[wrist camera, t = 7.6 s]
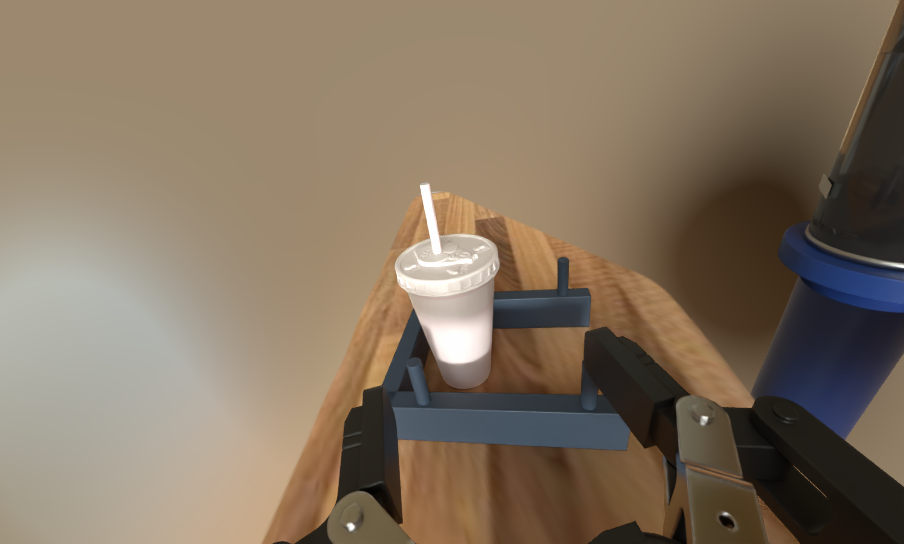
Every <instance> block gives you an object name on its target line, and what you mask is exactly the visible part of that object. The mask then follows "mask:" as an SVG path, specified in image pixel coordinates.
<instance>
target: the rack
mask: <svg viewBox="0 0 904 544" xmlns="http://www.w3.org/2000/svg"><path fill="white" fill-rule="evenodd" d="M568 278H569V259H568V258H566V257H561V258H559V259H558V286H557V289H554V290H530V291H506V292H494V300H493V326H492V329H495V328H545V327H589V321H590V305H591V295H590V292H589V289H588V288H578V289H568ZM429 349H430V346H429V343H428V341H427V338H426V336H425V334H424V331H423V329H422V326H421V324H420V321H419V319H418V317H417V314H416V312H415V309H414V308H413V311H412V313H411V316H410V318H409V320H408V323H407V325H406V328H405V330H404V333H403V335H402V337H401V340H400V342H399V345H398V347H397V350H396V352H395V355H394V357H393V359H392V362H391V364H390V367H389V369H388V372H387V374H386V376H385V379H384V381H383V384H382V385H384V386H385V388H386V391H387V394H388V397H389V399H390V402H391V405H392V408H393V411H394V414H395V419H396V425H397V438H398V439H405V440H425V441H446V442H466V443H486V444H506V445H526V446H546V447H566V448H586V449H606V450H627V445H628V439H629V433H630V429H629V428H628V426H627V425H626V424H625V422H624V421H623V420H622V418H621V417H620V416H619V414H618V413H617V412H616V410H615V409H614V408H613V406H612V405H611V404H610V402H609V401H608V400H607V399H606V397H605V396H604V395H598V387H597V385H596V384H595V383H594V381H593V380H592V379H591V377H590V376H589V375H588V373H587V371H586V369H585V366H584V360H583V361H582V378H581V395H567V394H515V393H463V392H429V390H428V386H427V382H426V378H425V374H424V371H423V369H424V366H425V362H426V359H427V355H428V352H429Z"/></svg>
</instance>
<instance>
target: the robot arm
mask: <svg viewBox="0 0 904 544" xmlns="http://www.w3.org/2000/svg"><path fill="white" fill-rule="evenodd" d="M878 51H879V52H878V54H877V56H876V58H875V61H874V63H873V66H872V68H871V71H870V73H869V76H868V78H867V81H866V83H865V86H864V88H863V91H862V94H861V96H860V99H859V101H858V104H857V106H856V109H855V111H854V114H853V116H852V119H851V121H850V124H849V126H848V129H847V131H846V134H845V136H844V139H843V141H842V144H841V146H840V149H839V151H838V154H837V157H836V159H835V162H834V164H833V166H832V169H831V172H830V174H829V177H828V178H827V177H826V175H825V174H824V175H823V177H822V180H821V182H820V185H819V188H820V190H821V192H822V194H821V197H820V199H819V202H818V204H817V207H816V209H815V212H814V214H813V217H812V219H811V222H810V224H809V225H808V226H807V228H806V230H805V233H804V239H805V240H806V242H807V243H808V244H810V245H811V246H812V247H814V248H815V249H817V250H819V251H821V252H823V253H825V254H828V255H830V256H833V257H836V258H838V259H841V260H845V261H848V262H852V263H855V264H859V265H864V266H868V267H873V268H878V269H884V270H890V271H897V272H904V0H898V2H897V5H896V7H895V10H894V12H893V15H892V17H891V20H890V22H889V25H888V27H887V30H886V33H885V35H884V38H883V40H882V43H881V45H880V48H879V50H878ZM583 360H584V366H585V369H586V371H587V373H588V375H589V376H590V377H591V379H592V380H593V381H594V383H595V384H596V385H597V387H598V388H599V389H600V391H601V392H602V393H603V395H604V396H605V397H606V399H607V400H608V401H609V402H610V404H611V405H612V406H613V408H614V409H615V410H616V412H617V413H618V414H619V416H620V417H621V418H622V420H623V421H624V422H625V424H626V425H627V426H628V428H629V429H630V430H631V432H632V433H633V434H634V436H635V437H636V438H637V439H638V441H639V442H640V443H641V445H642V446H643V447H644V449H645V448H649V447H652V446H655V445H656V446H657V447H658V448H659V450H660V451H661V452H662V453H663V481H664V506H665V514H664V524H663V536H662V535H659V534H655V533H649V532H642V531H641V530H640V528H639V526H638V525H637V523H636V521H634V522H631V523H628V524H625V525H622V526H619V527H615V528H612V529H609V530H606V531H603V532H602V533H601V534H599V535H598V536H597V537H596V538H594V539H593V540H592V541H590V542H589V543H588V544H769V542H768V538H767V534H766V530H765V526H764V522H763V518H762V514H761V510H760V506H759V502H758V498H757V495H758V496H759V497H760V498H761V499H762V500H763V502H764V503H765V504H766V505H767V506H768V507H769V508H770V509H771V511H772V512H773V513H774V514H775V515H776V516H777V517H778V519H779V520H780V521H781V522H782V523H783V524H784V525H785V526H786V528H787V529H788V530H789V531H790V532H791V533H792V534H793V535H794V537H795V538H796V539H797V540H798V541H799V542H800V543H801V544H904V487H903V486H902V485H901V484H899V483H898V482H897V481H896V480H894V479H893V478H892V477H891V476H889V475H888V474H887V473H885V472H884V471H883V470H881V469H880V468H879V467H878V466H877V465H875V464H874V463H873V462H872V461H870V460H869V459H867V458H866V457H865V456H864V455H863V454H861V453H860V452H859V451H857V450H856V449H855V448H854V447H852V446H851V445H850V444H849V443H847V442H846V441H845V440H844V439H842V438H841V437H840V436H838V435H837V434H836V433H835V432H833V431H832V430H831V429H830V428H828V427H827V426H826V425H825V424H823V423H822V422H821V421H819V420H818V419H817V418H816V417H814V416H813V415H812V414H811V413H809V412H808V411H807V410H805V409H804V408H803V407H801V406H800V405H798V404H796V403H794V402H792V401H790V400H787V399H784V398H781V397H776V396H762V397H759V398H758V399H756V400H755V402H754V404H753V407H752V408H729V407H721V406H719V405H718V404H717V403H715V402H713V401H711V400H709V399H707V398H704V397H701V396H694V395H690V394H689V393H688V392H686V391H685V390H684V389H683V388H682V387H681V386H680V385H679V384H678V383H677V382H676V381H675V380H674V379H673V378H672V377H671V376H670V375H669V374H668V373H667V372H666V371H665V370H664V369H663V368H661V367H660V366H659V365H658V364H657V363H655V361H654V360H653V359H652V358H651V357H650V356H649V355H647V354H646V352H645V351H644V350H643V349H642V348H641V347H640V346H639V345H637V344H636V343H635V342H633V341H631V340H629V339H627V338H625V337H623V336H621V337H616V336H615V335H614V334H613V332H612V331H611V330H610V329H608V328H607V327H601V328H598V329H594V330H590V331H587V332H586V333H585V340H584V358H583ZM343 437H344V439H343V445H342V449H343V451H342V455H341V466H340V476H339V486H338V496H337V500H336V504H335V506H334V508H333V510H332V512H331V513H330V515H329V517H328V518H327V519H326V520H325V522H324V523H323V524H322V525H321V526H319V527H318V528H317V529H316V530H314V531H313V532H311V533H310V534H308V535H307V536H305V537H304V538H302V539H301V540H299V541H298V542H296V543H295V544H416V543H415V542H414V541H413V540H412V539H411V538H410V537H409V536H408V535H407V534H406V533H405V532H404V531H403V530H402V528H401V527H400V526H399V524H402V523H403V518H402V502H401V486H400V470H399V454H398V438H397V425H396V419H395V414H394V411H393V408H392V405H391V402H390V399H389V397H388V394H387V391H386V388H385V386H384V385H381V386H377V387H373V388H370V389H366V390H364V391H363V404H362V406H359V407H356V408H352V409H351V411H350V413H349V415H348V417H347V419H346V421H345V424H344V434H343ZM794 466H795V467H796V468H797V469H798V470H799V471H800V472H801V473H802V474H803V475H804V476H806V477H807V478H808V479H809V480H810V481H811V482H812V483H813V484H814V485H815V486H816V487H817V488H818V489H819V490H820V491H821V492H822V493H823V494H824V495H825V496H826V497H827V498H828V499H829V500H828V499H827V498H826V497H825V496H824V495H823V494H822V493H821V492H820V491H819V490H818V489H817V488H816V487H815V486H814V485H813V484H812V483H811V482H810V481H809V480H807V479H806V478H805V477H804V476H803V475H802V474H801V473H800V472H799V471H798V470H797V469H796V468H795V467H794ZM273 544H290V543H288V542H284V541H281V542H276V543H273Z"/></svg>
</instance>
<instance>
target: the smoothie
mask: <svg viewBox="0 0 904 544" xmlns="http://www.w3.org/2000/svg"><path fill="white" fill-rule="evenodd" d="M420 188H421V193H422V199H423V204H424V209H425V214H426V219H427V224H428V229H429V234H430V239H426V240H424V241H421V242H419V243H417V244H414V245H412V246H411V247H409V248H408V249H406V250H405V251H404V252H403V253H402V254H401V255H400V256H399V257H398V258H397V260H396V263H395V270H396V274H397V281H398V283H399V285H400V287H401V288H403V289H404V290H405V291H407V292H408V295H409V297H410V300H411V302H412V305H413V307H414V309H415V312H416V314H417V317H418V319H419V321H420V324H421V326H422V329H423V331H424V334H425V336H426V338H427V341H428V343H429V346H430V348H431V350H432V353H433V355H434V358H435V360H436V363H437V365H438V367H439V370H440V372H441V375H442V377H443V379H444V381H445V382H446V383H447V384H448V385H450V386H451V387H454V388H457V389H470V388H474V387H477V386H479V385H481V384H482V383H483V382H485V381H486V380H487V378H488V377H489V375H490V372H491V353H492V326H493V300H494V276H495V275H496V273H497V272H498V270H499V268H500V260H499V258H498V250H497V247H496V245H495V244H494V243H493V242H492V241H490V240H489V239H487V238H484V237H481V236H478V235H472V234H449V235H442V236H439V231H438V226H437V221H436V215H435V210H434V204H433V199H432V193H431V188H430V183H428V182H426V183H421V184H420Z"/></svg>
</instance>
